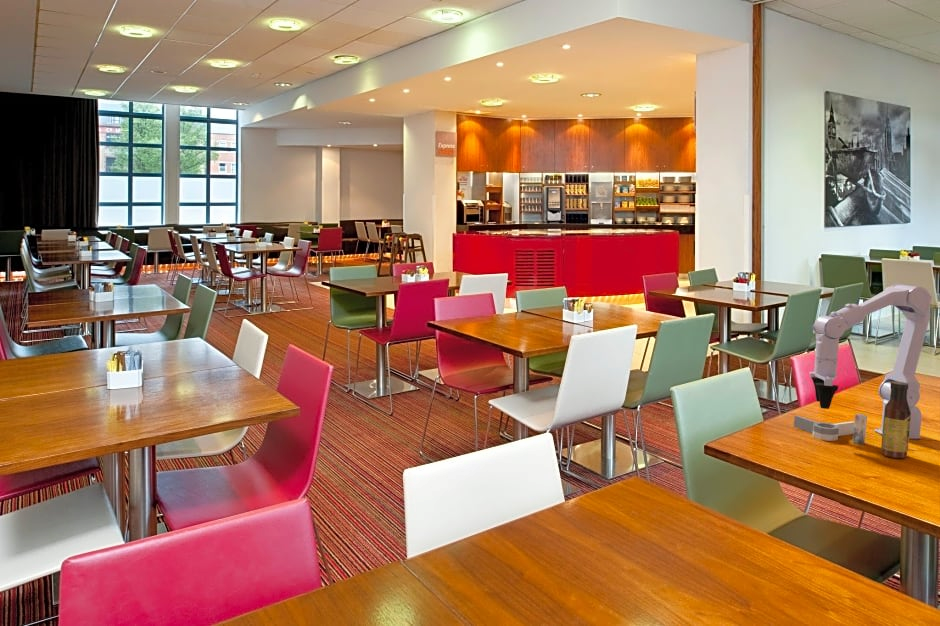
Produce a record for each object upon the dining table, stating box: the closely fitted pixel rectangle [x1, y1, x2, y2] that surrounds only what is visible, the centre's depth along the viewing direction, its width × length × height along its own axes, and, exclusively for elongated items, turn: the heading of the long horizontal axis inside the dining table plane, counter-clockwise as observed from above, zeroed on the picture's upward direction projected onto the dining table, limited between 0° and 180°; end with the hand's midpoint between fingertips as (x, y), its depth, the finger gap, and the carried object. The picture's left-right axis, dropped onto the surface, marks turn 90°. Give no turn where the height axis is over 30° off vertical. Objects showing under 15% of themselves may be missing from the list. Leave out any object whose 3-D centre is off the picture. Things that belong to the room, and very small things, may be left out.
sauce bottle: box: [880, 382, 911, 459], centre depth 193 cm, size 7×6×20 cm
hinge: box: [793, 414, 854, 442], centre depth 214 cm, size 14×14×4 cm
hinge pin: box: [852, 413, 868, 445], centre depth 204 cm, size 3×3×8 cm
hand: (822, 404), depth 208 cm, fingers open, 7 cm apart
